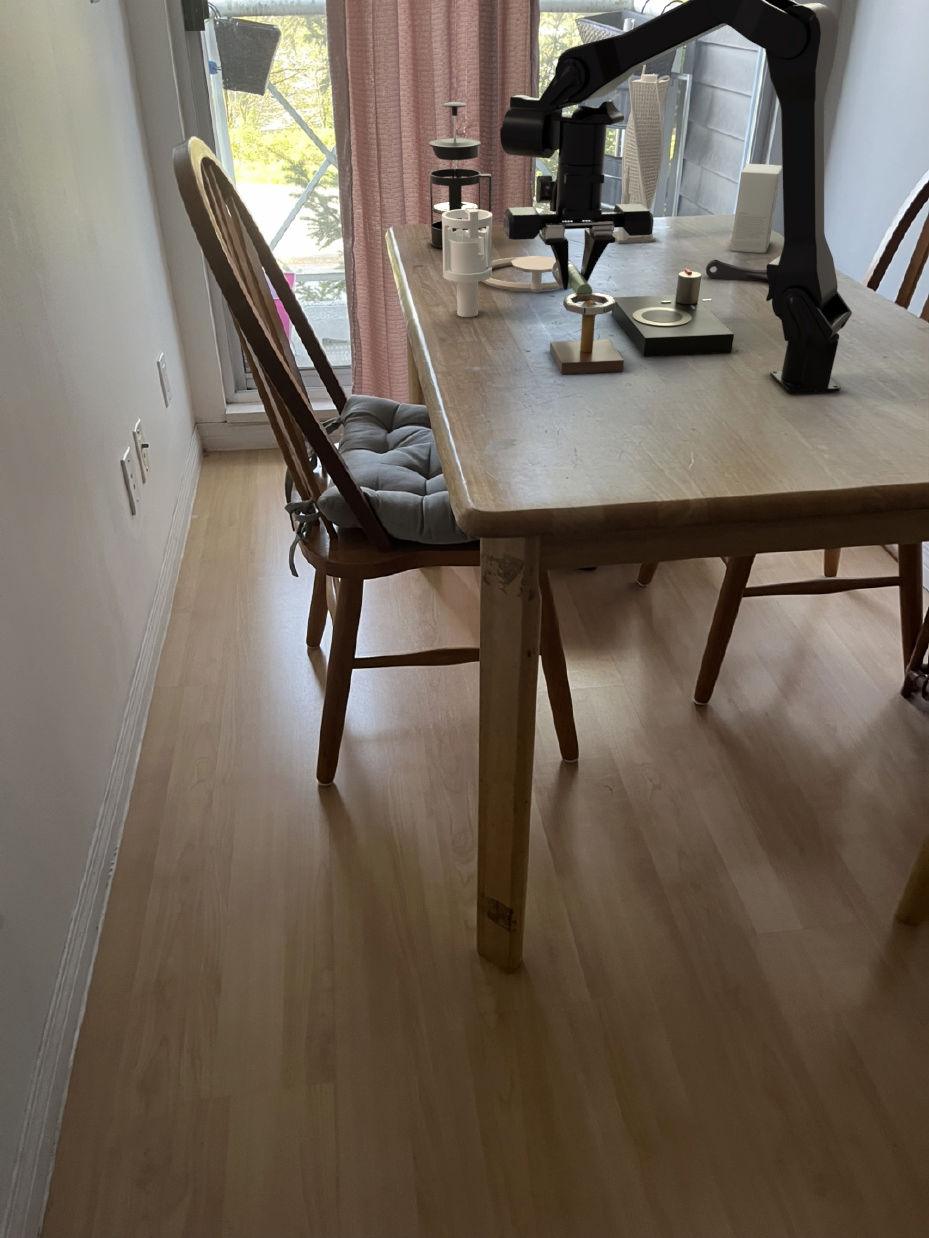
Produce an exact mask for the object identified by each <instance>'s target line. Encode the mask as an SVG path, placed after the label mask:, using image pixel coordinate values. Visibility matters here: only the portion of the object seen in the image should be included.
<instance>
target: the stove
mask: <svg viewBox="0 0 929 1238" xmlns="http://www.w3.org/2000/svg"><path fill="white" fill-rule="evenodd" d="M612 298H613V299H614V300H615V301H616V305H615V309H614V310H612V311H611V316H612V317H613V318H614V320H615V321H616V323H618V325H619V326H620V328H621V329H622V330H623V331H624V333H625V334H626V335H627V337H628V338H629V340H630V341H631V342H632V343H633V344H634V346H635V347H636V349H637V350H638V352H640V354H641V355H642V356H643V357H659V356H660V357H662V356H680V355H683V356H684V355H703V354H706V355H707V354H727V353H728V354H729V353H732V351H733V345H734V344H733V343H734V337H735V333H734V332H732V330H731V329H730V328H728V326H727V325H726V324H725V323H724V322H722V321H721V320H720V319H719V318H718V317H717V316H716V315H715V314H714V313H713V312H712V311H711V310H710V309H709V308H708V307H707V306H706V305H705V304H703V303H702V302H712V301H713V299H712V298H708V299H704V298H703V299H701V300H699V299H698V302H697V303H696V304H689V305H688V304H680V303H677V302H676V301H675V299H676V294H663V295H662V294H661V295H660V294H659V295H640V296H639V295H638V296H635V295H634V296H617V297H616V296H614V297H613V296H612ZM701 301H702V302H701ZM653 307H663V308H673V309H678V310H681V311H684V312H686V313H688V314H690V315H691V317H692V319H691V321H690V322H689V323H687V324H684V325H680V326H672V327H661V326H652V325H647V324H643V323H640V322H638V321H636V320H635V319H634V318H633V313H634V312H635V311H637V310H640V309H644V308H653Z"/></svg>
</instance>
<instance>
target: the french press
mask: <svg viewBox="0 0 929 1238" xmlns="http://www.w3.org/2000/svg"><path fill="white" fill-rule="evenodd" d="M467 106H468V104H467V103H465V102H460V101H450V102H444V103H443V104H442V105H441V107H444V108H451V116H452V117H453V137H449V138H442V139H435V140H431V141H429V143H428V144H429V146H430V147H432V151H433V153H434V154H435V157H436V158H437V159H439V160H442V161H443V160H444V161H453V168H442V169H436V170H433V171H430V173H429V186H430V188H429V190H430V222H431V223H430V227H431V228H430V230H431V231H430V232H431V240H430V243H429V244H430V246H431V247H432V248H435V249H438V250H442V251H443V238H442V220H438V221H435V222H434V213H435V214H439V215H442V214H443V213H444V212H447V211H451V210H457V209H465V208H466V207H474V208H475V209H478V210H481V194H482V193H481V191H482V189H481V187H482V186H481V181H482V180H481V178H483V179H484V178H487V179H488V178H489V179H488V212H491V213H492V174H490V173H481V171H479V170H475V169H472V168H471V169H470V168H457V161H464V160H473V159H476V158H478V157H479V147H480V146H481V144H482V143H481V141H479V140H477V139H470V138H465V137H464V138H463V137H457V116H458V108H463V107H467ZM477 184H478V204H475V203H473V202H467V201H463V199H462V197H463V195H462V194H463V193H462V191H463V187H467V186H468V187H469V186H474V185H477ZM433 185H437V186H442V187H448V202H439V203H436V204H434V205H433V203H434V202H433V200H434V199H433ZM457 219H462V220H463V218H457ZM448 227H449V226H448ZM482 228H484V229H486V227H482ZM482 228H478V230H480V231H481V229H482ZM452 229H453V232H455V231H456V229H458V228H452ZM463 230H468V229H463Z"/></svg>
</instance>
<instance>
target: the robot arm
mask: <svg viewBox="0 0 929 1238" xmlns="http://www.w3.org/2000/svg"><path fill="white" fill-rule="evenodd" d="M727 26H728V27H730V28H732V29H733V30H735V31H736V32H737V33H738V34H740V35H741V36H742V37H744V39H746V40H748V41H749V42H751V43H752V44H754V45H756V46H758V47H760V48H762V49H764V52H765V57H766V62H767V68H768V72H769V73H768V74H769V78H770V82H771V84H772V86H773V89H774V92H775V95H776V97H777V101H778V102H779V107H780V121H781V161H782V162H781V164H782V165H781V166H782V171H781V172H782V207H783V209H782V211H783V213H782V214H783V245H782V249H781V253H780V255H779V256H777V257H775V258H774V259H773V260H771V261H770V262H769V263H767V264H766V268H765V270H767V277H768V281H767V282H768V292H767V296H766V298H765V301H766V302H769V301H771V306H772V311H773V313H774V315H775V317H776V318H778V319H779V320H780V321H781V328H782V334H783V338H784V340H785V342H786V343H787V344H786V349H785V354H784V360H783V363H782V364H783V365H782V369H781V370H772V371H770V374H769V376H770V377H771V378H772V379H773V380H774V381H775V382H776V383H777V384H778V385H779V386H780V387H781V388H783V389H784V391H785V392H786V393H788V394H793V395H794V394H796V395H797V394H813V393H814V394H815V393H835V392H840V390H841V385H839V384H838V383H836V382H835V381H834V380H833V379H832V378H831V377H832V373H833V367H834V363H835V359H836V354H837V350H838V347H839V340H840V334H839V333H838V332H839V331H841V330H842V329H843V328H844V327H845V325H846V324H847V322H848V321H849V319H850V318H851V317H852V315H853V312H852V310H851V309H850V307H849V306H848V304H847V303H846V301H845V299H844V298H843V297H842V295H841V294H840V293H839V291H838V287H839V286H838V278H837V272H836V267H835V262H834V257H833V254H832V252H831V249H830V246H829V244H828V241H827V238H826V234H825V97H826V92H827V88H828V85H829V82H830V78H831V75H832V70H833V67H834V63H835V56H836V49H837V44H838V36H839V21H838V18H837V16H836V13H835V12H834V11H833V10H832V9H831V8H829V6H827V5H825V4H823V3H819V2H810V3H808V2H807V3H803V4H801V3H798V2H796V1H794V0H686V1H684V2H682V3H681V4H679V5H677V6H675V7H673V8H671V9H669V10H666V11H665V12H663V13H661V14H659V15H657V16H655V17H653V18H652V19H649V20H647V21H645V22H643V23H642V24H640V25H638V26H636V27H633V28H632V29H630V30H628V31H626V32H624V33H622V34H621V33H620V34H617V35H614V36H611V37H606V38H601V39H598V40H594V41H590V42H586V43H584V44H580V45H576V46H572V47H569V48H566V50H564V51H563V52H562V53H561V54H560V55H559V57H558V58H557V63H556V66H555V70H554V71H555V72H554V76H553V77H552V79H551V80H550V82H549V84H548V85H547V87H546V88H545V90H544V91H543V93H542V94H541V96H540V97H531V96H528V95H524V94H523V95H522V94H518V95H513V96H510V98H509V107H508V109H507V111H506V112H505V114H504V118H503V120H502V125H501V126H500V130H499V137H500V144H501V147H502V150H503V152H504V153H505V154H506V155H510V156H517V157H527V158H528V157H529V158H536V159H537V158H538V159H550V158H552V157H553V156H554V155H555V152H556V151H558V159H557V167H556V168H557V170H556V179H555V180H554V179H553V176H552V175H549V174H548V175H547V174H546V175H538V176H537V177H536V184H535V186H536V187H535V201H536V203H537V204H549V212H552V213H542V214H540V213H539V212H538V211H537V210H536V208H535V207H534V206H518V207H517V206H516V207H507V209H506V210H505V211H504V212H503V217H502V218H503V222H502V225H503V226H502V230H503V232H504V234H505V235H506V237H507V239H508V240H513V241H518V240H535V238H537V236H538V237H539V238H540V239H541V241H542V242H543V243H544V245H545V246H550V248H551V251H552V254H553V256H554V258H555V259H556V263H557V267H558V271H559V275H560V278H561V282H562V286H563V288H562V289H563V291H568V289H567V288H568V280H569V260H570V259H569V257H570V256H569V253H570V252H569V240H568V239H567V237H566V236H565V232H566V230H583V229H584V246H583V251H582V253H583V254H582V259H581V260H582V261H581V267H580V273H581V275H582V276H583V277H584V279H585V280H586V281H587V282H588V283H589V280H590V278H591V276H592V274H593V271H594V270H595V267H596V265H597V263H598V261H599V259H600V258H601V256H602V255H603V253H604V251H606V249H607V247H608V245H609V244H615V243H616V241H615V240H616V238H615V237H614V236H613V232H615V228H619V227H623V229H624V230H625V231H626V232H627V233H628V234H629V235H630V236H636V235H651V234H652V235H653V233H654V232H653V230H654V214H653V213H652V212H651V210H650V211H649V210H648V209H647V208H646V207H644V206H643V205H642V204H641V203H640V204H622V203H615V206H614V208H613V211H603V209H602V196H603V184H605V174H604V171H605V170H604V168H605V167H604V166H605V155H606V141H607V126H612V125H615V124H619V123H622V122H624V120H625V115H624V114H622V112H621V111H620V109H618V108H617V107H616V104H615V103H614V101H613V100H612V99H610V100H606V101H603V102H602V103H601V104H600V105H599V106H592V105H591V106H590V105H581V104H583V103H584V102H587V101H590V100H595V99H599V98H603V97H605V96H607V95H608V94H610V93H611V92H612V91H614V90H615V89H616V88H618V87H619V86H621V85H622V84H623V83H625V82H626V81H628V80H629V78H630V76H631V75H632V74H633V73H634V74H635V73H636V72H637V71H638V70H640V69H641V68H643V65H647V64H649V63H651V62H653V61H655V60H657V59H659V58H661V57H664V56H666V55H667V54H670V53H671V52H675V51H677V50H678V49H680V48H683V47H685V46H686V45H688V44H691V43H692V42H695V41H696V40H699V39H701V38H703V37H705V36H707V35H709V34H711V33H713V32H715V31H717V30H720V29H722V28H724V27H727ZM634 74H633V75H634ZM578 105H579V106H578ZM573 106H577V107H576V108H575V109H574V111H573V112H572V113H571V112H563V109H566V108H570V107H573ZM554 212H555V213H554Z"/></svg>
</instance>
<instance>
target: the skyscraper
mask: <svg viewBox="0 0 929 1238" xmlns="http://www.w3.org/2000/svg"><path fill="white" fill-rule="evenodd" d="M646 68H647V64H645V65H643V66H642V71H641V74H640V79H635V80H633V76H634V75H635V72H634V73H633V74H632V75H631V76H630V77H629V78H628V80H627V81H628V82H627V83H628V92H629V99H630V100H629V101H630V102H629V103H630V113H629V116H628V120H627V124H626V127H625V134H624V139H623V148H622V157H621V158H622V159H621V204H640V203H641V204H642V205H643V206H644V207H646V208H647V209H648V210H649V211H650V212H651V210H652V207H653V203H654V199H655V196H656V192H657V188H658V183H659V180H660V175H661V168H662V162H663V155H664V139H665V138H664V116H663V106H664V102H665V99H666V96H667V92H668V89H669V86H670V83H671V77H670V75H662V76H661V77H659V78H658V76H659V75H658V74H653V73H651V74H649V73H646V74H645V72H646ZM613 236H614V237H615V238H616V240H615V242H616V243H618V244H634V243H654V242H656V240H657V238H655V237H654V236H653V233H652V234H651V235H636V236H630V235H629V234H628V233H627V232H626V231H625V230H624V229H623V227H617V230H616V231H613Z"/></svg>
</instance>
